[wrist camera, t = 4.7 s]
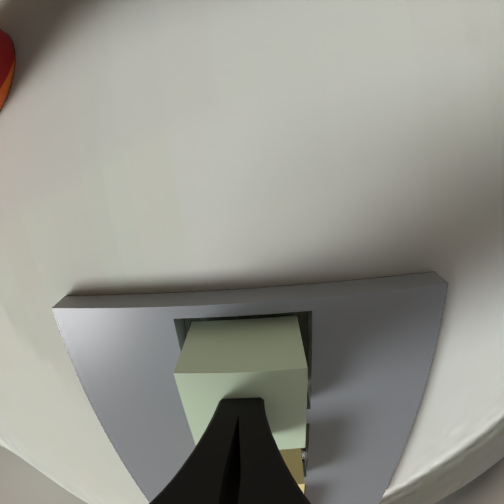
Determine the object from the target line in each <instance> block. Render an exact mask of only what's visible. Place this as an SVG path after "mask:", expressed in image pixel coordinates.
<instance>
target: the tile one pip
mask: <svg viewBox="0 0 504 504" xmlns="http://www.w3.org/2000/svg"><path fill="white" fill-rule="evenodd" d="M307 371H308V368H307V363H306V358H305V353H304V348H303V343H302V338H301V333H300V328H299V323H298V319H297V316H284V317H270V318H255V319H238V320H218V321H193V322H192V323H191V325H190V328H189V331H188V334H187V336H186V339H185V342H184V345H183V348H182V350H181V353H180V356H179V359H178V362H177V365H176V368H175V370H174V377H175V380H176V384H177V387H178V391H179V394H180V398H181V401H182V404H183V408H184V411H185V414H186V417H187V420H188V424H189V427H190V430H191V433H192V436H193V439H194V442H195V445H197V444H198V442H199V440H200V439H201V437H202V435H203V433H204V432H205V430H206V428H207V426H208V424H209V422H210V421H211V419H212V417H213V414H214V412H215V410H216V408H217V405H218V403H219V401H220V400H221V399H233V398H258V397H261V398H262V399H264V405H265V412H266V416H267V420H268V423H269V426H270V429H271V432H272V435H273V437H274V440H275V442H276V444H277V447H278V449H279V450H283V449H296V448H305V440H306V414H307Z"/></svg>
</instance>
